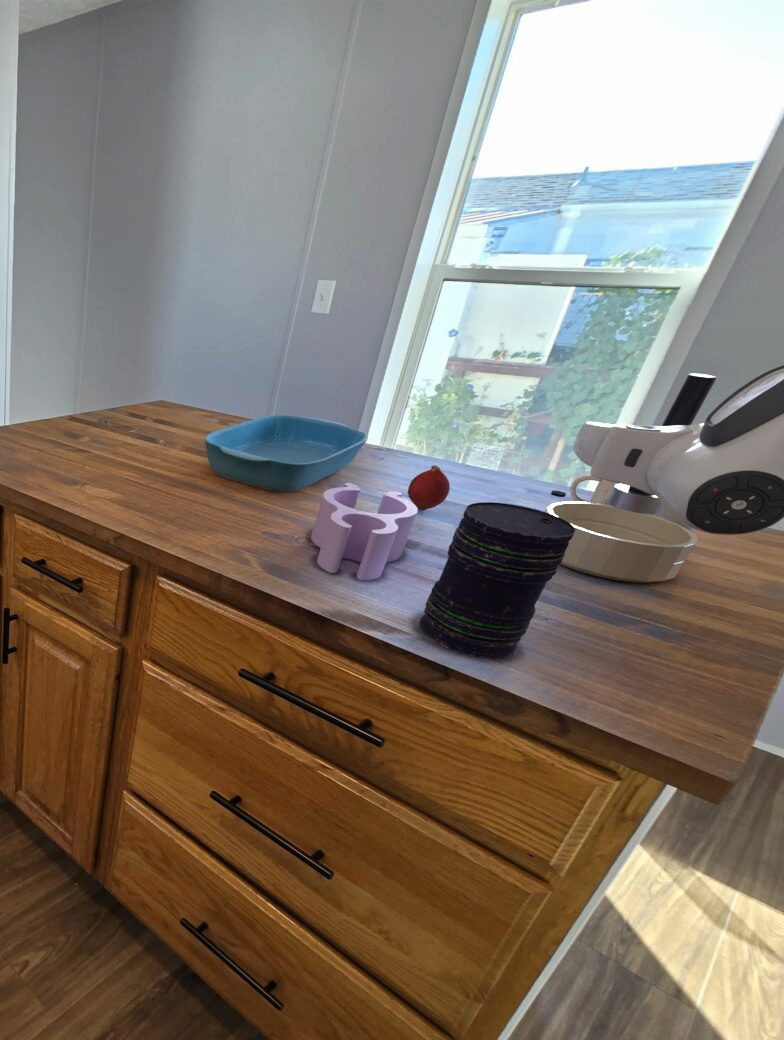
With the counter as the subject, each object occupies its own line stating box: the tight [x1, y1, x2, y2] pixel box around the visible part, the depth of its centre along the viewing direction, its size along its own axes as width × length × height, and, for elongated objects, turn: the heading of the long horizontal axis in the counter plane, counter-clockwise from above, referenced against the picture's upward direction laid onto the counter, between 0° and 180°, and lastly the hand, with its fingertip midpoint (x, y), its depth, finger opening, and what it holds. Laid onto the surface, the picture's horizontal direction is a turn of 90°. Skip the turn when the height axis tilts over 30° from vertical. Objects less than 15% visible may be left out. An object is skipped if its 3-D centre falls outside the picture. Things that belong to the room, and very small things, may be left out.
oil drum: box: [418, 490, 576, 660], centre depth 73 cm, size 10×10×18 cm
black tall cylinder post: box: [607, 373, 718, 514], centre depth 87 cm, size 6×6×18 cm
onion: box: [407, 464, 451, 512], centre depth 111 cm, size 6×6×8 cm
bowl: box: [544, 501, 699, 583], centre depth 95 cm, size 16×16×6 cm
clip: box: [310, 482, 419, 581], centre depth 96 cm, size 20×12×7 cm, turn 148°
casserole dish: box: [204, 414, 369, 493], centre depth 129 cm, size 37×22×7 cm, turn 132°
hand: (666, 437), depth 87 cm, fingers closed on black tall cylinder post, 2 cm apart
